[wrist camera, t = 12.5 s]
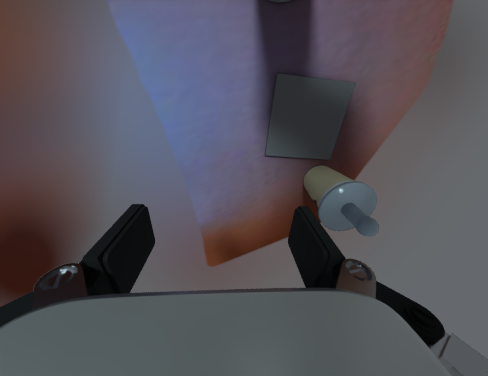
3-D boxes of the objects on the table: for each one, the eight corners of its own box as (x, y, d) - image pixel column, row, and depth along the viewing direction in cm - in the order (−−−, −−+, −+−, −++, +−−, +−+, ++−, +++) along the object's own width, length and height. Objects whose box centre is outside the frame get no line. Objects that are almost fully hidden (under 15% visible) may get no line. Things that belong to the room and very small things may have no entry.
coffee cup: (293, 189, 45) (313, 217, 35) (311, 156, 42) (340, 176, 31) (323, 199, 47) (350, 228, 37) (343, 168, 44) (379, 191, 33)
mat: (276, 73, 33) (277, 73, 33) (353, 82, 35) (355, 82, 35) (264, 154, 40) (265, 155, 40) (329, 159, 42) (330, 159, 42)
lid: (327, 179, 31) (354, 202, 24) (383, 182, 32) (424, 204, 26) (311, 228, 36) (330, 257, 29) (360, 229, 37) (389, 257, 30)
